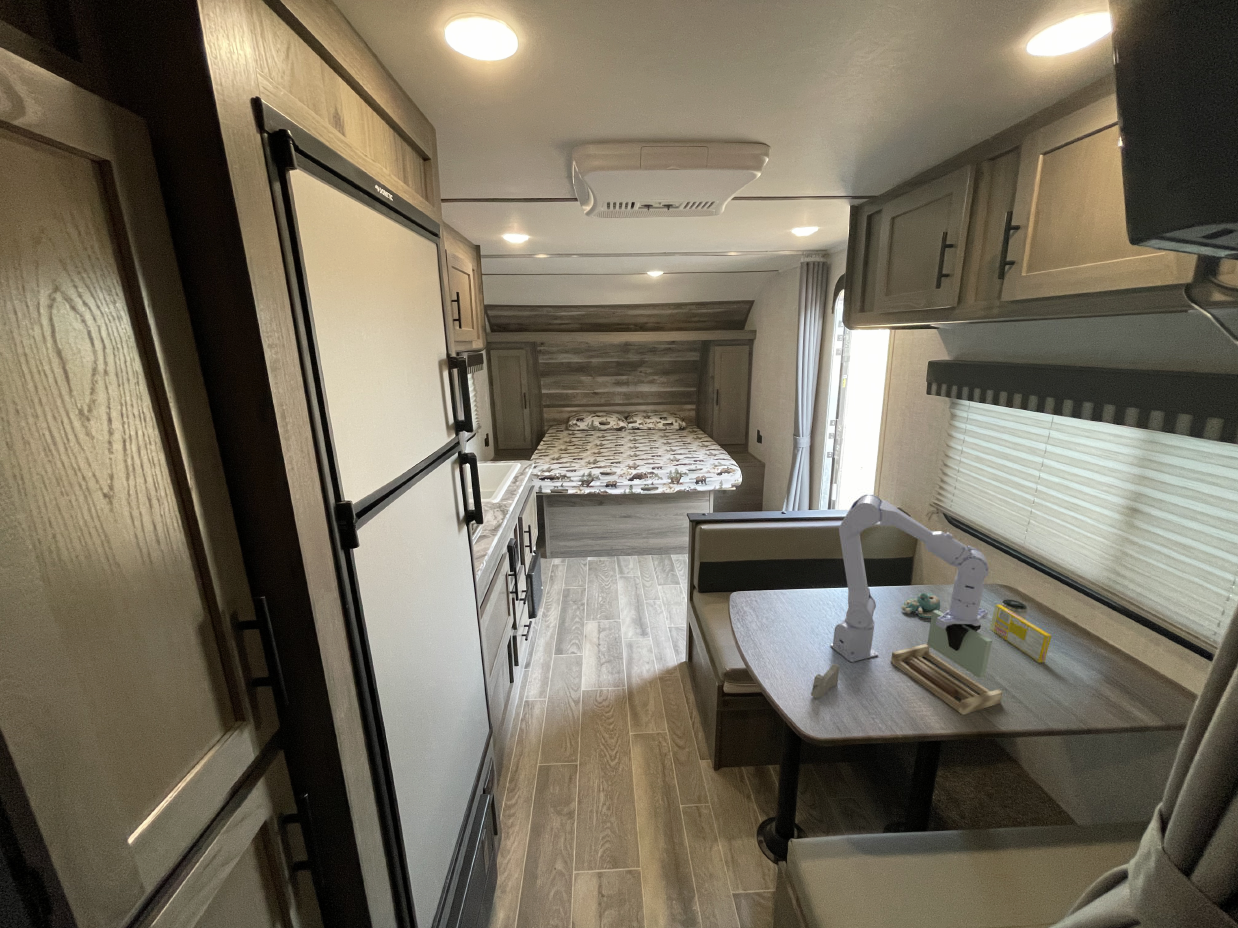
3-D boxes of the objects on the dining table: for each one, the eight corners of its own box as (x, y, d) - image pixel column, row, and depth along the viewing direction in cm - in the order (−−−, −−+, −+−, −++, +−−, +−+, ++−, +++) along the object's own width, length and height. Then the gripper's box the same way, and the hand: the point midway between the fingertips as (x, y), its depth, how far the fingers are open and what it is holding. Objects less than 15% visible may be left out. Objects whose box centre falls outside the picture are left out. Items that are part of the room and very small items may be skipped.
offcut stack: (951, 701, 115) (953, 691, 114) (907, 670, 126) (909, 660, 125) (958, 699, 116) (960, 688, 115) (914, 668, 127) (916, 658, 126)
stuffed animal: (891, 590, 156) (924, 580, 158) (892, 609, 158) (924, 599, 160) (916, 607, 146) (951, 597, 147) (917, 627, 148) (951, 617, 149)
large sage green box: (979, 678, 115) (987, 641, 112) (926, 644, 128) (932, 610, 125) (984, 677, 115) (992, 640, 113) (931, 643, 128) (937, 609, 126)
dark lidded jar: (1027, 633, 142) (1033, 609, 140) (1002, 630, 143) (1007, 606, 141) (1016, 622, 147) (1021, 598, 146) (992, 619, 149) (997, 596, 147)
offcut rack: (963, 714, 111) (965, 703, 110) (890, 661, 129) (892, 652, 128) (1000, 702, 114) (1002, 691, 113) (924, 653, 133) (926, 643, 132)
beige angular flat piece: (837, 685, 121) (814, 702, 115) (832, 682, 122) (809, 698, 116) (839, 665, 119) (816, 681, 113) (834, 662, 120) (811, 678, 115)
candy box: (1046, 662, 129) (1052, 635, 127) (1038, 663, 129) (1045, 635, 127) (995, 628, 144) (1000, 603, 142) (988, 628, 144) (993, 603, 142)
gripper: (959, 611, 111) (950, 662, 115) (1004, 601, 116) (994, 651, 119) (932, 596, 118) (923, 645, 121) (975, 587, 122) (966, 635, 125)
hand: (956, 647), depth 120 cm, fingers closed on large sage green box, 2 cm apart
